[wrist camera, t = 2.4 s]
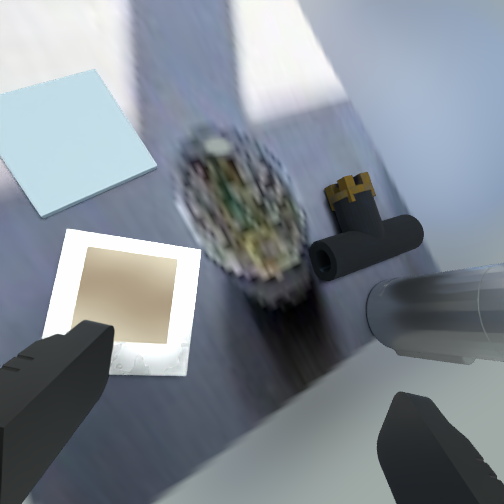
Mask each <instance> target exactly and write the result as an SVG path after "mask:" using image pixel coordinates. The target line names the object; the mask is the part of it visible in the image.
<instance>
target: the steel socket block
mask: <svg viewBox="0 0 504 504" xmlns="http://www.w3.org/2000/svg"><path fill="white" fill-rule="evenodd" d="M87 246H92V247H99V248H106V249H113V250H120V251H127V252H134V253H141V254H147V255H154V256H161V257H168V258H175V259H178V266H177V273H176V281H175V288H174V295H173V303H172V310H171V318H170V325H169V332H168V340H167V344H151V343H131V342H113V349H112V356H111V363H110V371H109V375H164V376H186V373H187V365H188V356H189V348H190V339H191V331H192V322H193V314H194V305H195V297H196V288H197V280H198V271H199V263H200V254H201V250H198V249H191V248H185V247H179V246H173V245H166V244H160V243H154V242H147V241H141V240H135V239H129V238H122V237H116V236H110V235H104V234H97V233H91V232H85V231H78V230H72V229H67V231H66V236H65V240H64V245H63V249H62V253H61V258H60V262H59V266H58V271H57V275H56V280H55V284H54V288H53V293H52V297H51V301H50V306H49V310H48V315H47V319H46V323H45V328H44V332H43V337H42V339H44V338H47V337H49V336H52V335H54V334H57V333H58V334H63V335H65V334H66V333H67V332H69V331H70V326H71V322H72V317H73V312H74V307H75V302H76V298H77V293H78V288H79V283H80V278H81V274H82V269H83V264H84V259H85V255H86V250H87Z"/></svg>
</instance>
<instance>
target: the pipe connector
mask: <svg viewBox="0 0 504 504" xmlns="http://www.w3.org/2000/svg"><path fill="white" fill-rule="evenodd" d="M337 182H338V183H337V184H333V185H330V186H328V187H326V188H325V191H326V194H327V197H328V200H329V203H330V206H331V209H332V211H335V213H336V216H337V219H338V221H339V224H340V227H341V230H342V234H338V235H335V236H332V237H328V238H325V239H322V240H319V241H316V242H314V243H313V244H312V245H311V247H310V252H309V256H310V259H311V262H312V265H313V268H314V271H315V273H316V274H317V275H318V277H320V278H321V279H322V280H324V281H331V280H334V279H337V278H339V277H342V276H345V275H347V274H350V273H352V272H355V271H358V270H360V269H363V268H366V267H368V266H371V265H373V264H376V263H379V262H381V261H384V260H387V259H389V258H392V257H394V256H397V255H400V254H402V253H405V252H407V251H410V250H413V249H415V248H417V247H419V246H420V245H421V243H422V241H423V237H424V231H423V228H422V225H421V224H420V222H419V221H418V220H417V219H416V218H415V217H413V216H411V215H400V216H397V217H394V218H390V219H387V220H384V221H381V218H380V215H379V212H378V209H377V206H376V203H375V200H374V198H373V197H374V196H376V194H375V191H374V189H373V186H372V183H371V180H370V177H369V174H368V172H364V173H360V174H358V175H356V176H355V177H353V176H352V175H350V176H345V177H343V178H341V179H339V180H338V181H337Z"/></svg>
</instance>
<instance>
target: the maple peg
mask: <svg viewBox="0 0 504 504" xmlns="http://www.w3.org/2000/svg"><path fill="white" fill-rule="evenodd" d="M177 266H178V259H175V258H168V257H161V256H154V255H147V254H141V253H134V252H127V251H120V250H113V249H106V248H99V247H92V246H87V250H86V255H85V259H84V264H83V269H82V274H81V278H80V283H79V288H78V293H77V298H76V302H75V307H74V312H73V317H72V322H71V326H70V330H71V329H72V328H74V327H75V326H76V325H77V324H79V323H80V322H81V321H83V320H90V321H94V322H99V323H103V324H108V325H112V326H113V327H114V330H115V334H114V342H131V343H151V344H167V340H168V332H169V325H170V318H171V310H172V303H173V295H174V288H175V281H176V273H177Z"/></svg>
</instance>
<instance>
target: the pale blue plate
mask: <svg viewBox="0 0 504 504" xmlns="http://www.w3.org/2000/svg"><path fill="white" fill-rule="evenodd" d="M0 156H1V158H2V159H3V161H4V162H5V164H6V165H7V167H8V168H9V169H10V171H11V172H12V174H13V175H14V177H15V178H16V180H17V181H18V183H19V184H20V186H21V187H22V189H23V190H24V192H25V193H26V195H27V196H28V198H29V199H30V201H31V202H32V204H33V205H34V207H35V208H36V210H37V211H38V213H39V214H40V216H41V217H42V218H43V219H45V218H47V217H49V216H51V215H54V214H56V213H58V212H60V211H63V210H65V209H67V208H69V207H72V206H74V205H76V204H78V203H81V202H83V201H85V200H87V199H90V198H92V197H94V196H96V195H99V194H101V193H103V192H105V191H108V190H110V189H112V188H115V187H117V186H119V185H121V184H124V183H126V182H128V181H130V180H133V179H135V178H137V177H139V176H142V175H144V174H146V173H148V172H151V171H153V170H155V169H157V164H156V163H155V161H154V159H153V158H152V156H151V155H150V153H149V152H148V150H147V149H146V147H145V145H144V144H143V142H142V141H141V139H140V138H139V136H138V135H137V133H136V132H135V130H134V128H133V127H132V125H131V124H130V122H129V121H128V119H127V118H126V116H125V115H124V113H123V111H122V110H121V108H120V107H119V105H118V104H117V102H116V101H115V99H114V98H113V96H112V94H111V93H110V91H109V90H108V88H107V87H106V85H105V84H104V82H103V80H102V79H101V77H100V76H99V74H98V73H97V71H96V70H95V69H93V70H89V71H85V72H82V73H78V74H74V75H70V76H67V77H63V78H59V79H55V80H52V81H48V82H44V83H40V84H37V85H33V86H29V87H25V88H22V89H18V90H14V91H10V92H7V93H3V94H0Z"/></svg>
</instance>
